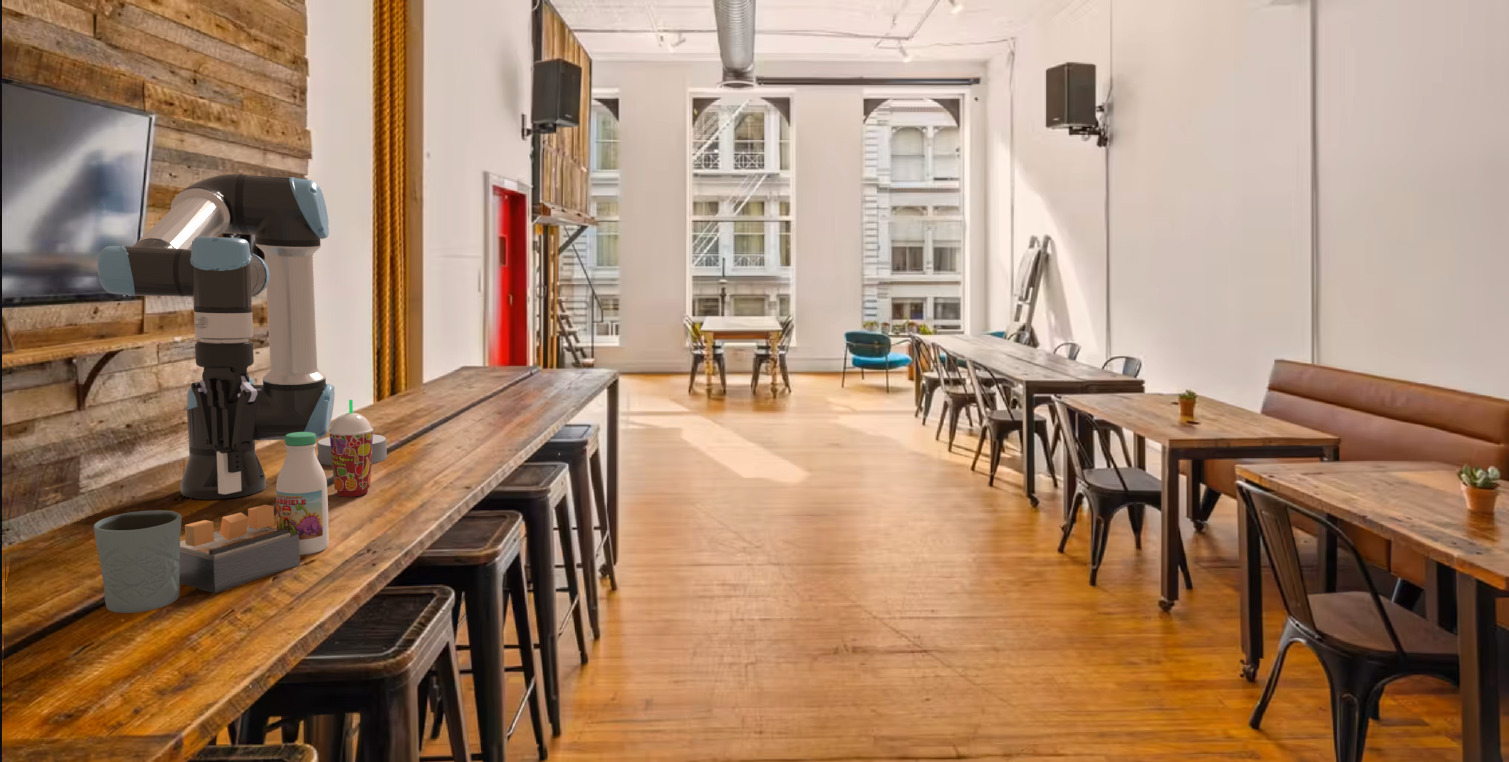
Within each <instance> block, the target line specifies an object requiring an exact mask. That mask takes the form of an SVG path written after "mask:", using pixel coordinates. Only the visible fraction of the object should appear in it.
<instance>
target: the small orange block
mask: <svg viewBox="0 0 1509 762" xmlns="http://www.w3.org/2000/svg"><path fill="white" fill-rule="evenodd" d="M248 523H249V517H248V515H246V514H244V513H243V512H238V513H234V514H229V515H226V516H223V517H221V523H220V528H219V531H220V533H219V534H220V535H221V536H223V537H224V538H226V539H227V540H229V539H233V538H236V537H240V536H243V535H246V533H247V528H248Z"/></svg>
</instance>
